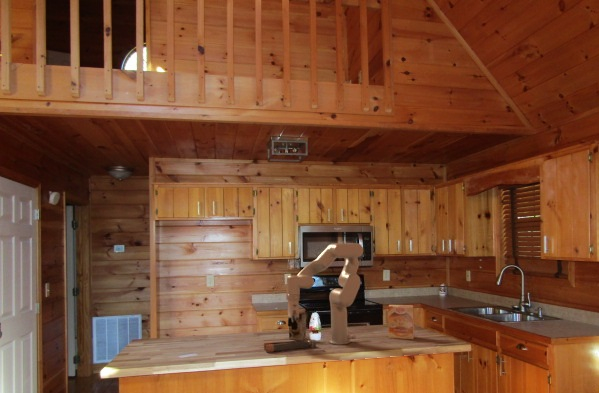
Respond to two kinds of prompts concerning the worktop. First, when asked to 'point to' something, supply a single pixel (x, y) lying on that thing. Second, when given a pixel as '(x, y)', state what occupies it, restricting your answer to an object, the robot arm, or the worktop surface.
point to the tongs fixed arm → (288, 342)
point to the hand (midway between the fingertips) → (292, 327)
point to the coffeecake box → (401, 321)
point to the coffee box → (299, 328)
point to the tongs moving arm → (288, 346)
